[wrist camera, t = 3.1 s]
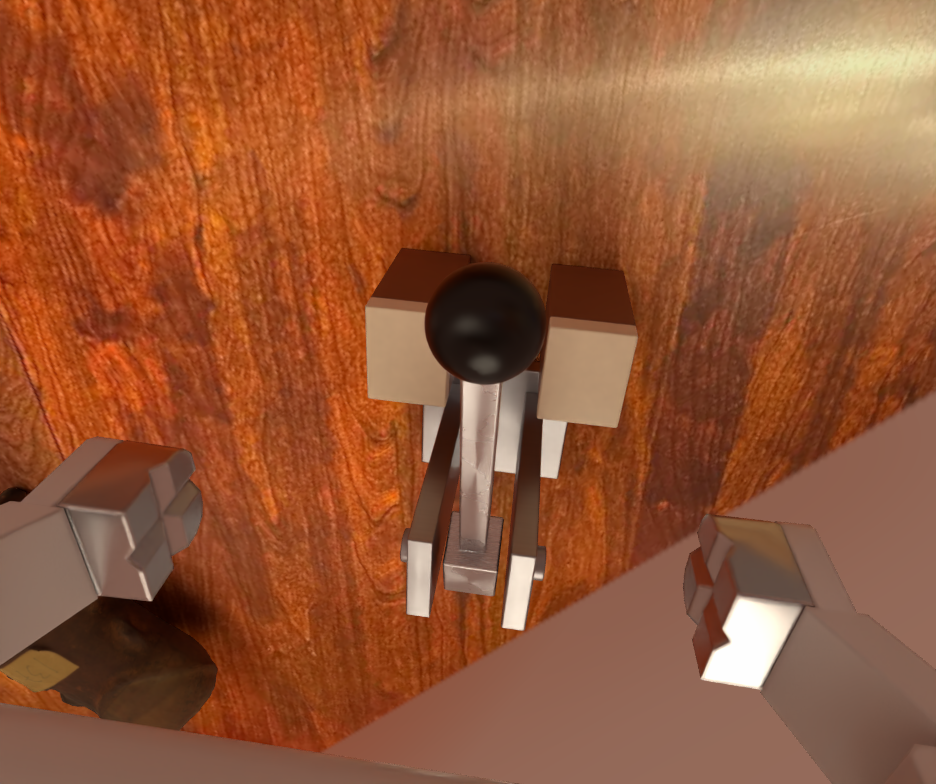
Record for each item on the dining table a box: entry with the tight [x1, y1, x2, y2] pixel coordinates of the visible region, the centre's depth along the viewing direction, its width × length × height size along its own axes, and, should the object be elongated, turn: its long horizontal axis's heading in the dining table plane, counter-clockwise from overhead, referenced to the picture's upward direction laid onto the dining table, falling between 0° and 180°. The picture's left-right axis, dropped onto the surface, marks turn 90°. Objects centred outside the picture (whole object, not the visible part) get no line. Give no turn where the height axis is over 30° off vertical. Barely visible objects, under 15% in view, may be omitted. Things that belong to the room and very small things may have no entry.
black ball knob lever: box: [424, 262, 546, 596], centre depth 21 cm, size 17×3×3 cm, turn 176°
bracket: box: [400, 361, 568, 631], centre depth 31 cm, size 7×8×13 cm
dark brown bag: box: [0, 488, 217, 731], centre depth 46 cm, size 12×20×8 cm, turn 47°
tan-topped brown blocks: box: [365, 248, 638, 428], centre depth 29 cm, size 11×4×7 cm, turn 87°
